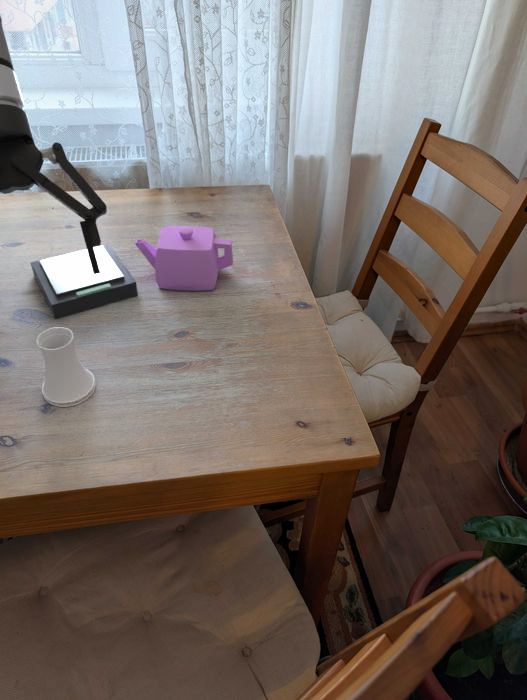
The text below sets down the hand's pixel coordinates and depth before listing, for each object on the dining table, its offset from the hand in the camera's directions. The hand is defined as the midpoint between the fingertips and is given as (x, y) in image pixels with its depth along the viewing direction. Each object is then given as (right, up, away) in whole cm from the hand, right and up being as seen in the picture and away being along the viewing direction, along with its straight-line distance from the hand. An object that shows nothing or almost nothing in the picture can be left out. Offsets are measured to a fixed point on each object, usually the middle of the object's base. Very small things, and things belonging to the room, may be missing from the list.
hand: (42, 284), depth 66 cm
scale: (-5, +4, +32) cm, 32 cm away
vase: (-1, -14, +12) cm, 19 cm away
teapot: (+13, +6, +35) cm, 38 cm away
